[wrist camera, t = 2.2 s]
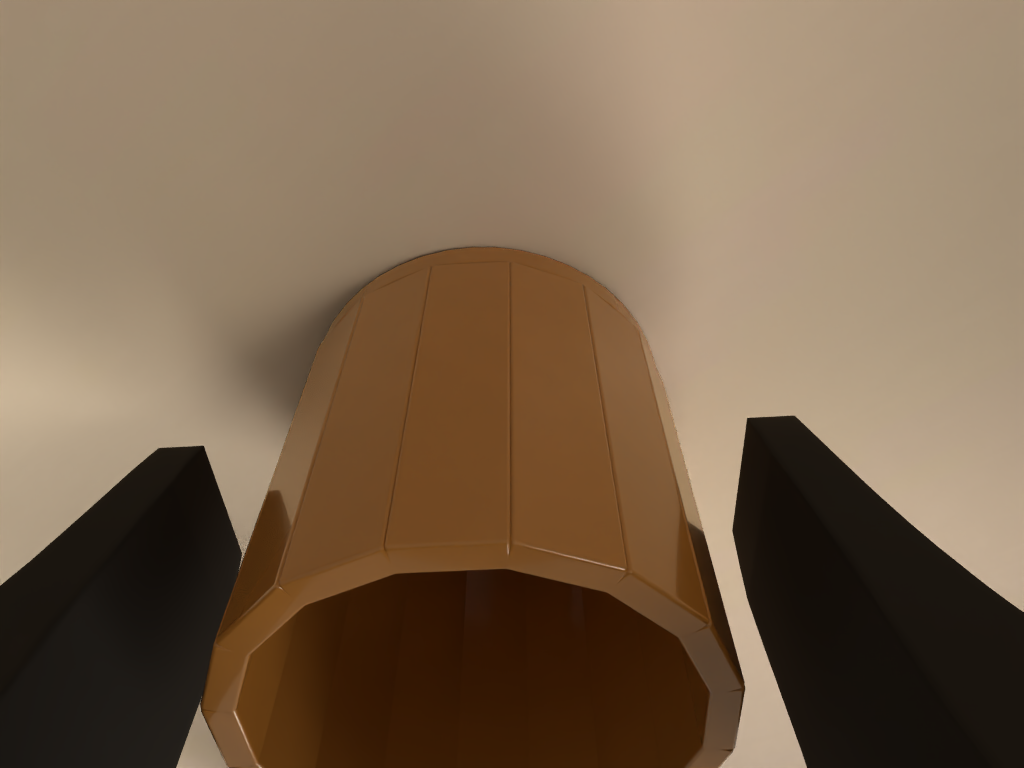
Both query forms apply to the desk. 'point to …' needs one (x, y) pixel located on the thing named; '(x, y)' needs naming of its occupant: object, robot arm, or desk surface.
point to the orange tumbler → (478, 544)
